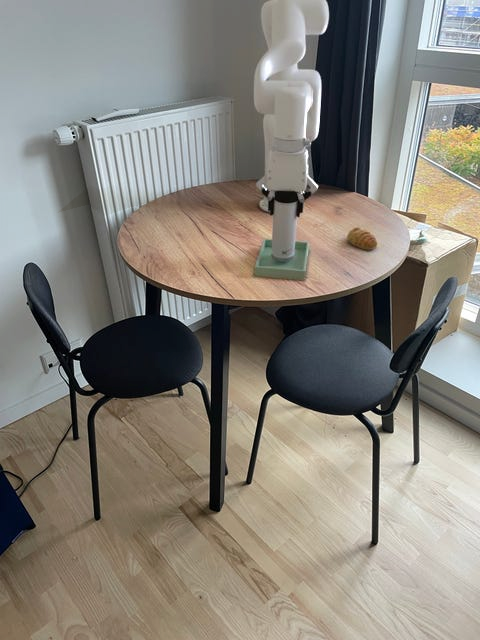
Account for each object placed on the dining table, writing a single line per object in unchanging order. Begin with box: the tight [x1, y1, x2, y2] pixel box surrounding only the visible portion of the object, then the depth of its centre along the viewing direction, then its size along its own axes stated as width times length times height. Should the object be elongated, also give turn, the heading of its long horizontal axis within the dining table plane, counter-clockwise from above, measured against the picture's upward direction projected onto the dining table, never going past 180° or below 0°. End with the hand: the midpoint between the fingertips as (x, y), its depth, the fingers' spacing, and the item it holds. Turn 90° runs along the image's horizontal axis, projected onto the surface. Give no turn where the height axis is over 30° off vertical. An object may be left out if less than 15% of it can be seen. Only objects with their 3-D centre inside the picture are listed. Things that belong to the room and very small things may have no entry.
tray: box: [254, 238, 310, 281], centre depth 134 cm, size 17×13×3 cm
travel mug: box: [271, 191, 299, 262], centre depth 128 cm, size 6×7×20 cm
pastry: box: [346, 227, 378, 251], centre depth 143 cm, size 9×7×4 cm
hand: (285, 213), depth 127 cm, fingers closed on travel mug, 6 cm apart
